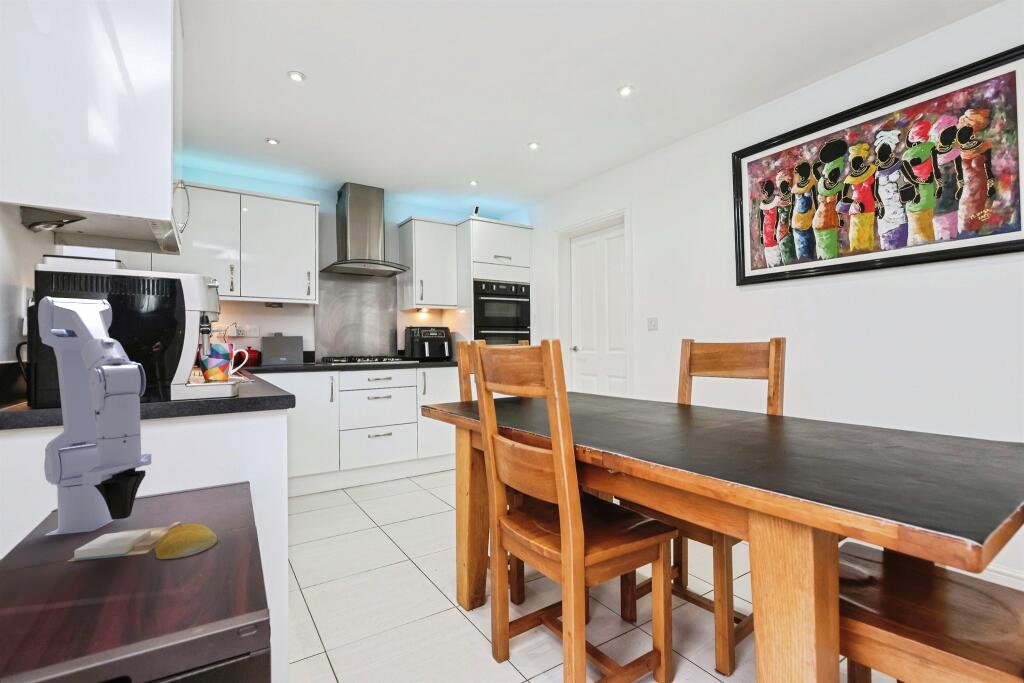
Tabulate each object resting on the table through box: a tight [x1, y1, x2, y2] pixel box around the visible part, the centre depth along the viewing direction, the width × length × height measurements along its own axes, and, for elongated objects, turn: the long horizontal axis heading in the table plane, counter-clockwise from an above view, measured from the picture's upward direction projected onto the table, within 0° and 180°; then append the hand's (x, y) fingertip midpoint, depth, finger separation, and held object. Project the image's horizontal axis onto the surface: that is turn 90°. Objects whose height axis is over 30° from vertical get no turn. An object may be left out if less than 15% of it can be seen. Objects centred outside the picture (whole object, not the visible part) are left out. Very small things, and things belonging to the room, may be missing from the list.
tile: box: [73, 530, 151, 561], centre depth 78 cm, size 2×7×7 cm
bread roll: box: [154, 523, 218, 560], centre depth 77 cm, size 8×9×4 cm
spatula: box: [134, 521, 182, 551], centre depth 82 cm, size 11×2×1 cm, turn 10°
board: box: [66, 526, 168, 562], centre depth 81 cm, size 13×11×1 cm
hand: (121, 517), depth 80 cm, fingers closed
